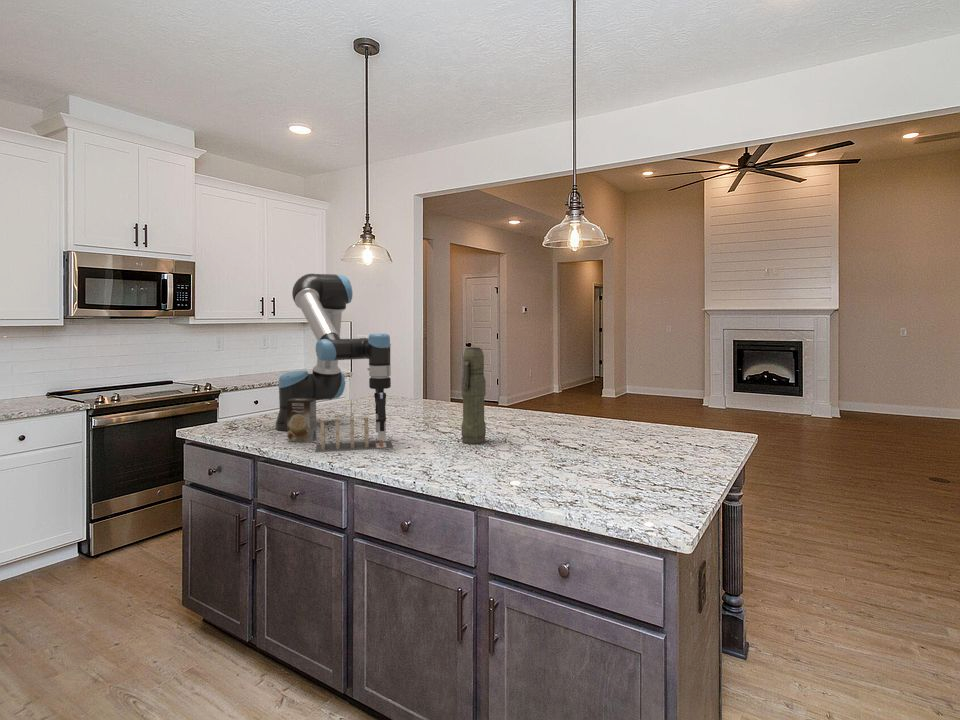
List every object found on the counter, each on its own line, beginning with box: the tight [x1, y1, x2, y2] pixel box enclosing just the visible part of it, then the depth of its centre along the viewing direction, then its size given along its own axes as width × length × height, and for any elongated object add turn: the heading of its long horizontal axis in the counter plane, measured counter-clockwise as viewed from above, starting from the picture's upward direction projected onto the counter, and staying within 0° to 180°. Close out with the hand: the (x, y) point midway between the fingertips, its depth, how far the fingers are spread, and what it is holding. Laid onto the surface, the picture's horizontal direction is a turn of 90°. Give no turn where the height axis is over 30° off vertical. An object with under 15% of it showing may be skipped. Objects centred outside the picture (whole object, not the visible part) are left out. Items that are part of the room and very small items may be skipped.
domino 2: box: [334, 417, 341, 449], centre depth 194 cm, size 5×1×10 cm, turn 14°
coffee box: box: [286, 398, 317, 444], centre depth 205 cm, size 9×6×16 cm
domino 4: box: [363, 416, 370, 448], centre depth 197 cm, size 5×1×10 cm, turn 14°
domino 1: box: [320, 418, 326, 450], centre depth 193 cm, size 5×1×10 cm, turn 14°
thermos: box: [461, 346, 487, 445], centre depth 204 cm, size 9×12×35 cm
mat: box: [314, 440, 394, 453], centre depth 197 cm, size 12×26×1 cm, turn 104°
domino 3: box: [349, 416, 355, 448], centre depth 196 cm, size 5×1×10 cm, turn 14°
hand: (380, 435), depth 198 cm, fingers open, 13 cm apart
